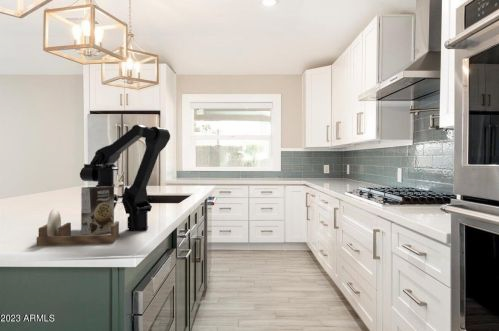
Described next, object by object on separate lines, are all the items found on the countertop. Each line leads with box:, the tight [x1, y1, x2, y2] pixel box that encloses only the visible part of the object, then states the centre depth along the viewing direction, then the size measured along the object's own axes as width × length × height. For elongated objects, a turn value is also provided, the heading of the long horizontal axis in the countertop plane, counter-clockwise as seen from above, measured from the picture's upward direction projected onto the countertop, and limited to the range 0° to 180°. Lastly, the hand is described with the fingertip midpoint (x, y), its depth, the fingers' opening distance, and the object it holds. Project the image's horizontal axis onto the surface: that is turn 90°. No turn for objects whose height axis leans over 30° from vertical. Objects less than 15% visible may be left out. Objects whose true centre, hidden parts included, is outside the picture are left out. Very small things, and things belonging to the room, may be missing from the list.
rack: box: [36, 209, 120, 247], centre depth 114 cm, size 22×10×10 cm, turn 101°
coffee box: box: [80, 186, 115, 235], centre depth 127 cm, size 9×6×16 cm
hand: (105, 222), depth 140 cm, fingers open, 8 cm apart
